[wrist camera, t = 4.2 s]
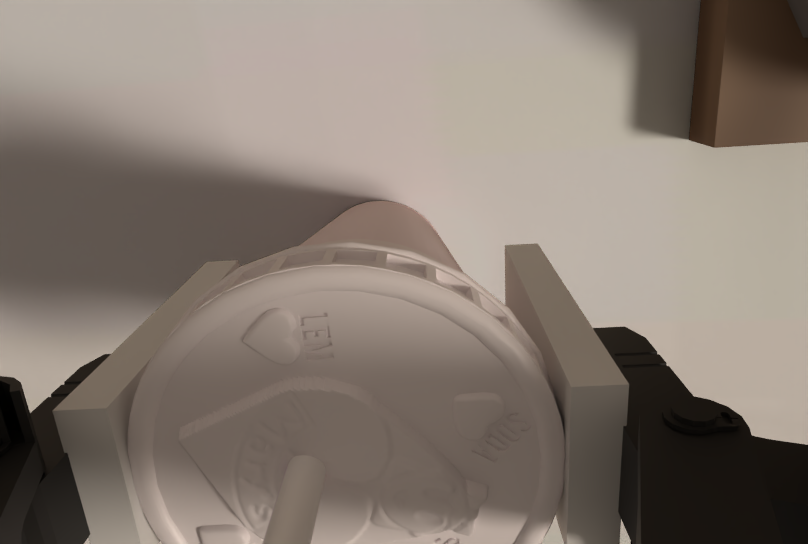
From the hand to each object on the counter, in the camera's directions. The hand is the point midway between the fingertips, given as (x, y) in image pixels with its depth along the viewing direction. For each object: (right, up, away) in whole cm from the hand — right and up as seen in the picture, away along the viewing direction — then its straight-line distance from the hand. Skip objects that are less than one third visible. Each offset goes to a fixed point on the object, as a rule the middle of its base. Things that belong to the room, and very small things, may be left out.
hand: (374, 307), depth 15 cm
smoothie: (0, +1, +3) cm, 4 cm away
